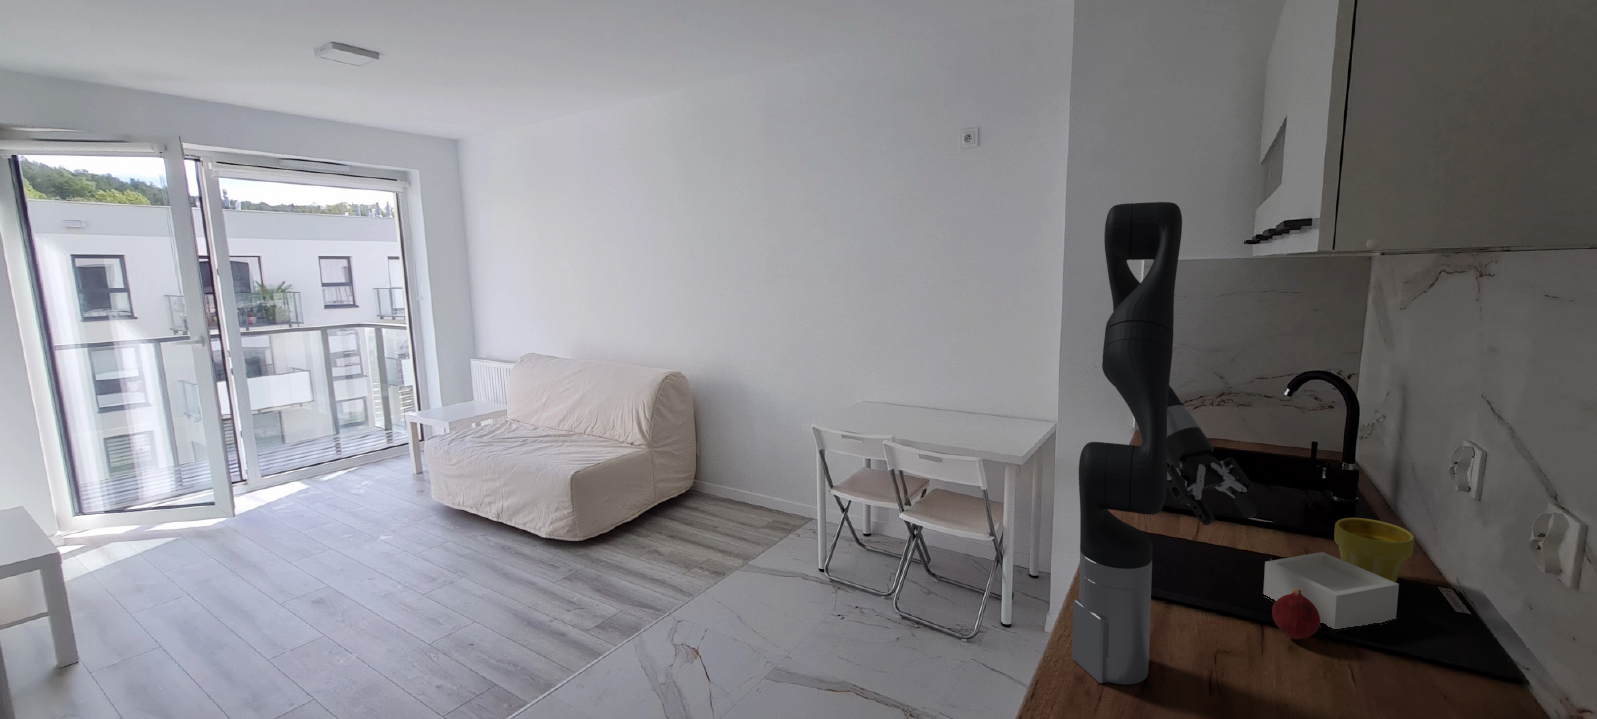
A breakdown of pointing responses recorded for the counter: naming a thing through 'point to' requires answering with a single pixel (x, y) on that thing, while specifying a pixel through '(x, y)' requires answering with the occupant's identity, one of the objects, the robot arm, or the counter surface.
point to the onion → (1296, 615)
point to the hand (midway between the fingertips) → (1231, 519)
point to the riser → (1334, 589)
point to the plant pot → (1374, 545)
